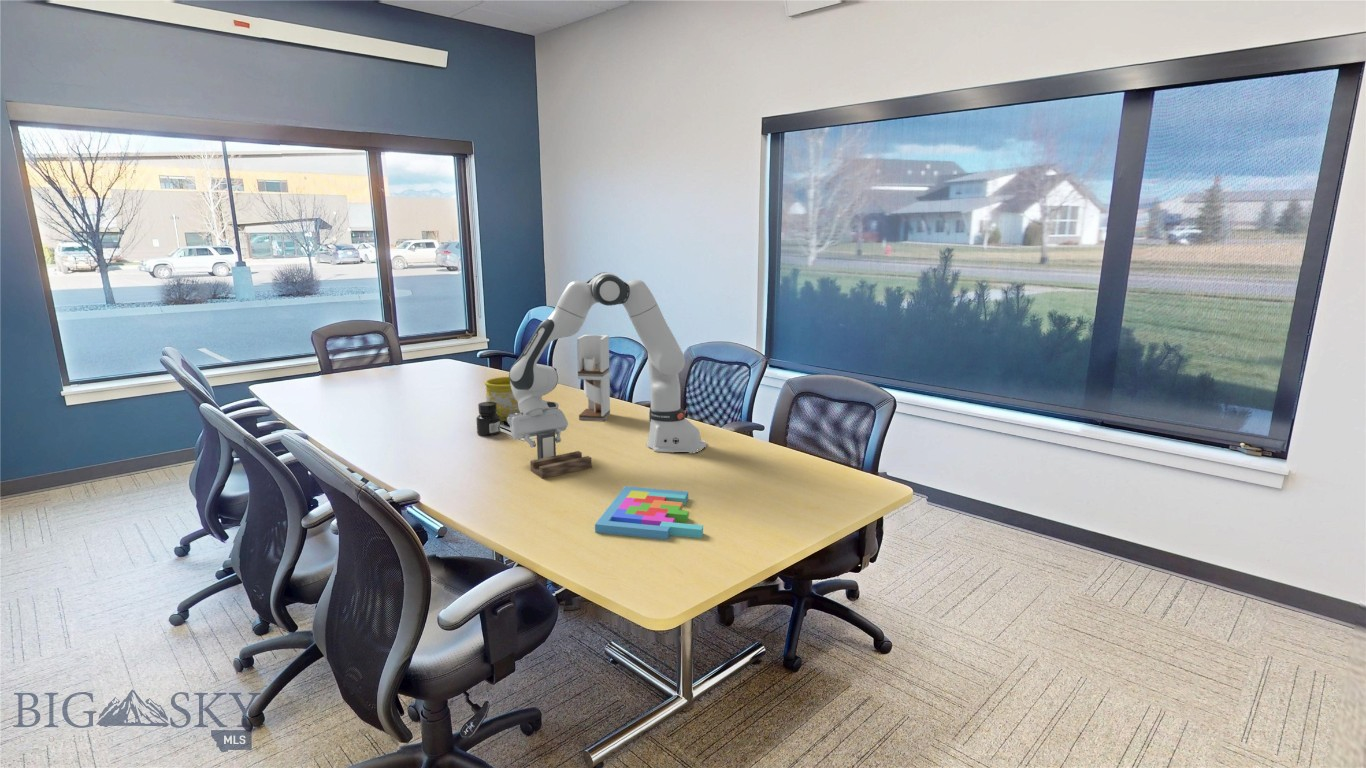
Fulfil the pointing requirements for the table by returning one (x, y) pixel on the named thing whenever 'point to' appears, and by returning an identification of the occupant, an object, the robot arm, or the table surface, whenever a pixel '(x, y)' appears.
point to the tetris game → (648, 514)
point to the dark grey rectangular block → (546, 444)
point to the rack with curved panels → (594, 375)
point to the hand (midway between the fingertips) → (546, 444)
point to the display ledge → (560, 464)
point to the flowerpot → (501, 397)
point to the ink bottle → (488, 419)
